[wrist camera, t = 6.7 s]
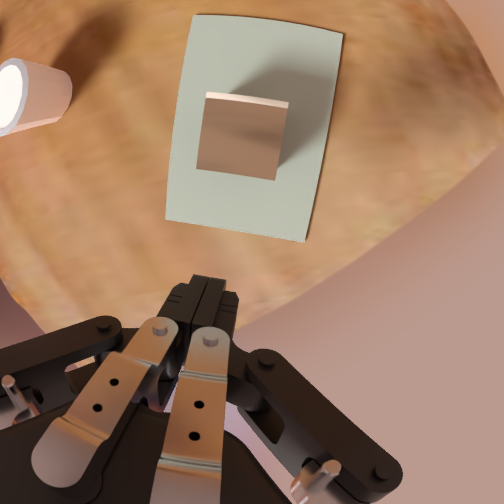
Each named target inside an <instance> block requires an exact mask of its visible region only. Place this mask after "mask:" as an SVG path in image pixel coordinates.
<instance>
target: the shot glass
mask: <svg viewBox="0 0 504 504" xmlns="http://www.w3.org/2000/svg"><path fill="white" fill-rule="evenodd" d="M71 98H72V82H71V79H70V76H69V75H68V74H67V73H66V72H65V71H62V70H58V69H55V68H52V67H48V66H45V65H41V64H38V63H34V62H30V61H27V60H23V59H18V58H11V59H9V60H7V61H5V62H3V63H2V65H1V66H0V137H1V136H4V135H7V134H10V133H14V132H17V131H21V130H25V129H28V128H32V127H36V126H40V125H44V124H49V123H53V122H56V121H57V120H58V119H60V118H61V117H62V116H63V115H64V113H65V112H66V110H67V109H68V107H69V104H70V101H71Z"/></svg>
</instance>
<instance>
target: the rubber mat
mask: <svg viewBox="0 0 504 504" xmlns="http://www.w3.org/2000/svg"><path fill="white" fill-rule="evenodd" d="M342 38H343V34H341V33H337V32H333V31H329V30H325V29H320V28H316V27H311V26H306V25H301V24H295V23H289V22H283V21H276V20H269V19H260V18H251V17H239V16H222V15H193V19H192V24H191V28H190V33H189V37H188V42H187V47H186V52H185V57H184V63H183V68H182V74H181V80H180V86H179V92H178V99H177V106H176V113H175V120H174V128H173V136H172V145H171V154H170V164H169V174H168V186H167V200H166V215H165V220H172V221H178V222H184V223H191V224H197V225H203V226H209V227H215V228H222V229H228V230H234V231H240V232H246V233H252V234H257V235H263V236H269V237H275V238H281V239H286V240H292V241H298V242H303V243H304V242H305V238H306V233H307V229H308V225H309V220H310V216H311V211H312V207H313V202H314V197H315V193H316V188H317V183H318V178H319V174H320V169H321V164H322V159H323V153H324V148H325V143H326V138H327V132H328V127H329V121H330V116H331V110H332V104H333V98H334V92H335V86H336V80H337V73H338V67H339V60H340V53H341V46H342ZM207 92H216V93H227V94H236V95H244V96H252V97H259V98H266V99H272V100H278V101H284V102H289V104H288V110H287V116H286V121H285V127H284V133H283V139H282V144H281V150H280V156H279V162H278V167H277V173H276V179H275V181H272V180H267V179H261V178H255V177H248V176H242V175H236V174H229V173H222V172H215V171H207V170H200V169H196V164H197V156H198V148H199V140H200V133H201V126H202V119H203V112H204V105H205V99H206V93H207Z"/></svg>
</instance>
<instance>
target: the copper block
mask: <svg viewBox="0 0 504 504" xmlns="http://www.w3.org/2000/svg"><path fill="white" fill-rule="evenodd" d="M288 104H289V102H284V101H278V100H272V99H266V98H259V97H252V96H244V95H236V94H227V93H216V92H207V93H206V99H205V105H204V112H203V119H202V126H201V133H200V140H199V148H198V156H197V164H196V169H200V170H207V171H215V172H222V173H229V174H236V175H242V176H248V177H255V178H261V179H267V180H272V181H275V179H276V173H277V167H278V162H279V156H280V150H281V144H282V139H283V133H284V127H285V121H286V116H287V110H288Z"/></svg>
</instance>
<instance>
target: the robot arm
mask: <svg viewBox="0 0 504 504" xmlns="http://www.w3.org/2000/svg"><path fill="white" fill-rule="evenodd" d="M225 289H226V280H224V279H218V278H212V277H206V276H201V275H195V274H194V275H193V277H192V278H191V280H190V282H189V284H185V283H180V284H178V285H176V286H175V287H173V289H172V291H171V292H170V294H169V296H168V297H167V299H166V301H165V302H164V304H163V306H162V308H161V309H160V311H159V313H158V315H157V316H156V317H153V318H150V319H148V320H146V321H145V322H144V323H143V324H142V326H141V327H140V328H122V326H121V323H120V321H119V320H118V319H117V318H115V317H112V316H99V317H95V318H92V319H89V320H87V321H84V322H81V323H78V324H75V325H72V326H69V327H66V328H63V329H60V330H57V331H54V332H51V333H48V334H45V335H42V336H39V337H36V338H33V339H30V340H27V341H24V342H21V343H17V344H14V345H11V346H8V347H5V348H2V349H0V504H292V503H291V502H290V501H289V499H288V498H287V497H286V496H285V495H284V494H283V492H282V491H281V490H280V489H279V487H278V486H277V485H276V484H275V482H274V481H273V480H272V479H271V478H270V476H269V475H268V474H267V473H266V471H265V470H264V469H263V467H262V466H261V465H260V463H259V462H258V461H257V459H256V458H255V457H254V455H253V454H252V453H251V451H250V450H249V449H248V448H247V446H246V445H245V444H244V443H243V442H242V441H241V440H239V439H238V438H237V437H236V436H234V435H233V434H231V433H229V432H227V431H225V430H224V419H225V405H226V401H227V402H229V403H231V404H234V405H236V406H237V409H238V411H239V413H240V414H241V416H242V417H243V418H244V420H245V421H246V422H247V423H248V425H249V426H250V427H251V428H252V430H253V431H254V432H255V433H256V434H257V436H258V437H259V438H260V439H261V440H262V441H263V443H264V444H265V445H266V446H267V448H268V449H269V450H270V451H271V452H272V453H273V454H274V456H275V457H276V458H277V459H278V460H279V461H280V463H281V464H282V465H283V466H284V467H285V468H286V469H287V470H288V472H289V473H290V474H291V475H292V476H293V477H294V478H295V479H294V480H293V482H292V484H291V488H290V491H291V494H292V497H293V498H294V500H295V501H296V503H297V504H374V503H375V502H377V501H379V500H380V499H382V498H383V497H384V496H386V495H387V494H388V493H390V492H392V491H393V490H394V489H396V488H397V487H398V486H399V484H400V483H401V481H402V477H403V472H402V468H401V466H400V464H399V463H398V461H397V460H396V459H394V458H393V457H392V456H391V455H390V454H388V453H387V452H386V451H385V450H384V449H383V448H381V447H380V446H379V445H378V444H377V443H376V442H374V441H373V440H372V439H371V438H370V437H369V436H367V435H366V434H365V433H364V432H363V431H362V430H360V428H358V427H357V426H356V425H355V424H354V423H353V422H352V421H351V420H350V419H348V418H347V417H346V416H345V415H344V414H343V413H342V412H341V411H340V410H338V409H337V408H336V407H335V406H334V405H333V404H332V403H331V402H330V401H329V400H328V399H327V398H325V397H324V396H323V395H322V394H321V393H320V392H319V391H318V390H317V389H316V388H315V387H314V386H313V385H312V384H310V382H308V380H306V379H305V378H304V377H303V376H302V375H301V374H300V373H299V372H298V371H297V370H296V369H295V368H294V367H293V366H292V365H291V364H290V363H289V362H288V361H287V360H286V359H285V358H284V357H283V356H281V354H279V353H278V352H276V351H273V350H269V349H257V350H254V351H252V352H251V353H248V352H245V351H243V350H241V349H240V348H238V347H237V346H236V345H235V344H234V342H233V340H232V338H233V333H234V328H235V322H236V316H237V309H238V302H239V298H238V296H237V294H236V292H230V291H225ZM91 356H94V359H95V362H93V363H90V364H88V365H85V366H83V367H80V368H77V369H75V370H72V371H69V372H64V371H65V369H66V367H67V366H68V365H70V364H73V363H76V362H78V361H81V360H83V359H86V358H89V357H91ZM181 366H185V367H184V371H181V372H180V369H181ZM179 372H180V375H179ZM177 382H178V384H177ZM176 384H177V387H176V392H175V396H174V400H173V405H172V409H171V413H166V412H165V413H164V410H165V408H166V406H167V403H168V401H169V399H170V397H171V395H172V392H173V390H174V388H175V386H176Z"/></svg>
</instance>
